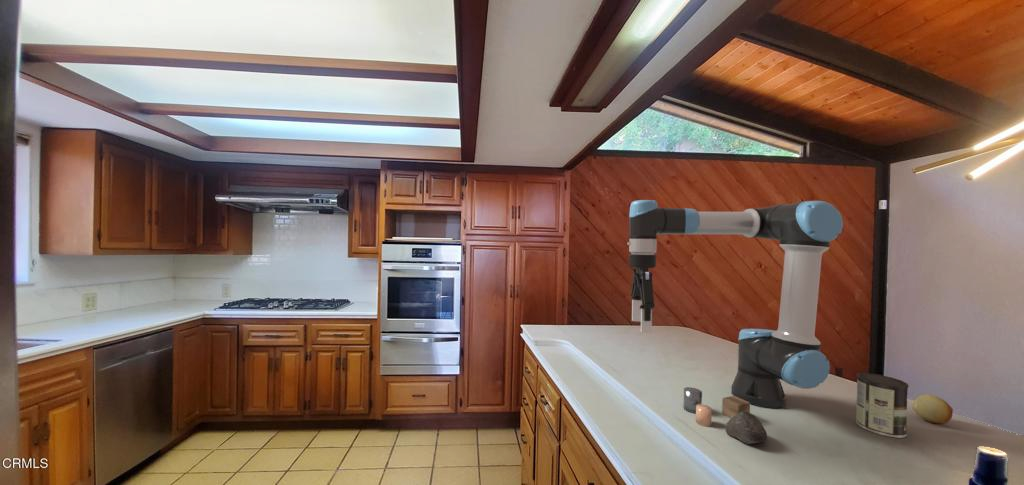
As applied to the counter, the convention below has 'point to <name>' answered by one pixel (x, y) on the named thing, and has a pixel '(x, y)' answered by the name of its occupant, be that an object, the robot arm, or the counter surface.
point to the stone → (746, 428)
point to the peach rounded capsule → (703, 415)
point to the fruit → (932, 409)
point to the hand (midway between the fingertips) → (641, 326)
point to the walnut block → (734, 406)
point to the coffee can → (882, 405)
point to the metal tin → (692, 399)
